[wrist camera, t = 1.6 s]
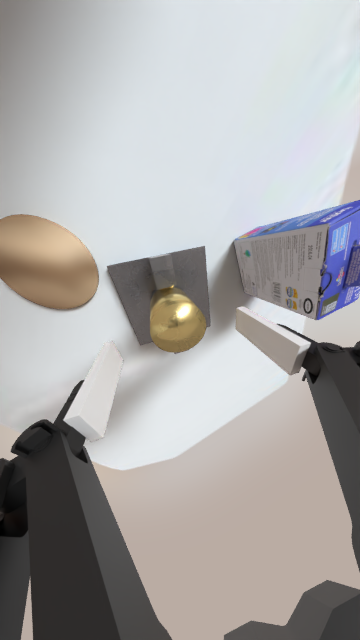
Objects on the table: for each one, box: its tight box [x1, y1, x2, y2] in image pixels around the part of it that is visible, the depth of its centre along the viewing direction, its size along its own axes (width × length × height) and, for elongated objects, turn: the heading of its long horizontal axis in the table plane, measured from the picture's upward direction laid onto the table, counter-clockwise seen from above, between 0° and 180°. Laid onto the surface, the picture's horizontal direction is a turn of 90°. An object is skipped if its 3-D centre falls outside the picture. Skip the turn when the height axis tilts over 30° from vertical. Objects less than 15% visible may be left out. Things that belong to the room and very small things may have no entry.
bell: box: [150, 286, 206, 352], centre depth 16 cm, size 10×6×7 cm, turn 11°
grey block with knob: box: [107, 246, 210, 354], centre depth 19 cm, size 14×14×6 cm
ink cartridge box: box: [234, 200, 360, 320], centre depth 16 cm, size 10×6×14 cm, turn 27°
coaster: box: [0, 214, 99, 309], centre depth 16 cm, size 11×11×1 cm
